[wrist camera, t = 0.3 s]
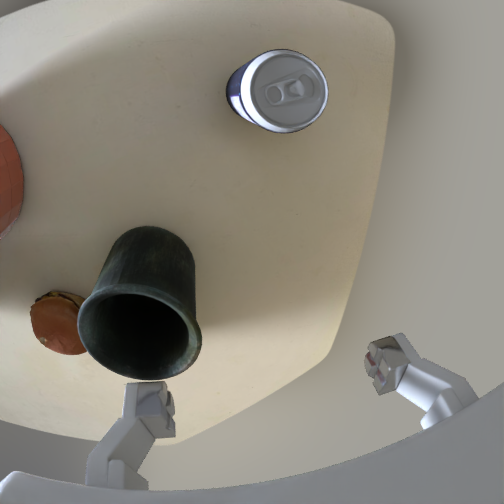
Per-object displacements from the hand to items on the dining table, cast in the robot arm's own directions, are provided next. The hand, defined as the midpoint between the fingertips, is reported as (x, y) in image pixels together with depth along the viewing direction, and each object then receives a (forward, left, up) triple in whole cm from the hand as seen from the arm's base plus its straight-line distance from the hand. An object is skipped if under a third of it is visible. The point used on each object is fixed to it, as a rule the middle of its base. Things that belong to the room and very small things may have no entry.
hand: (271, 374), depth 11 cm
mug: (+13, -1, -23) cm, 26 cm away
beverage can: (-10, -3, -23) cm, 25 cm away
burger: (+25, -9, -23) cm, 35 cm away
